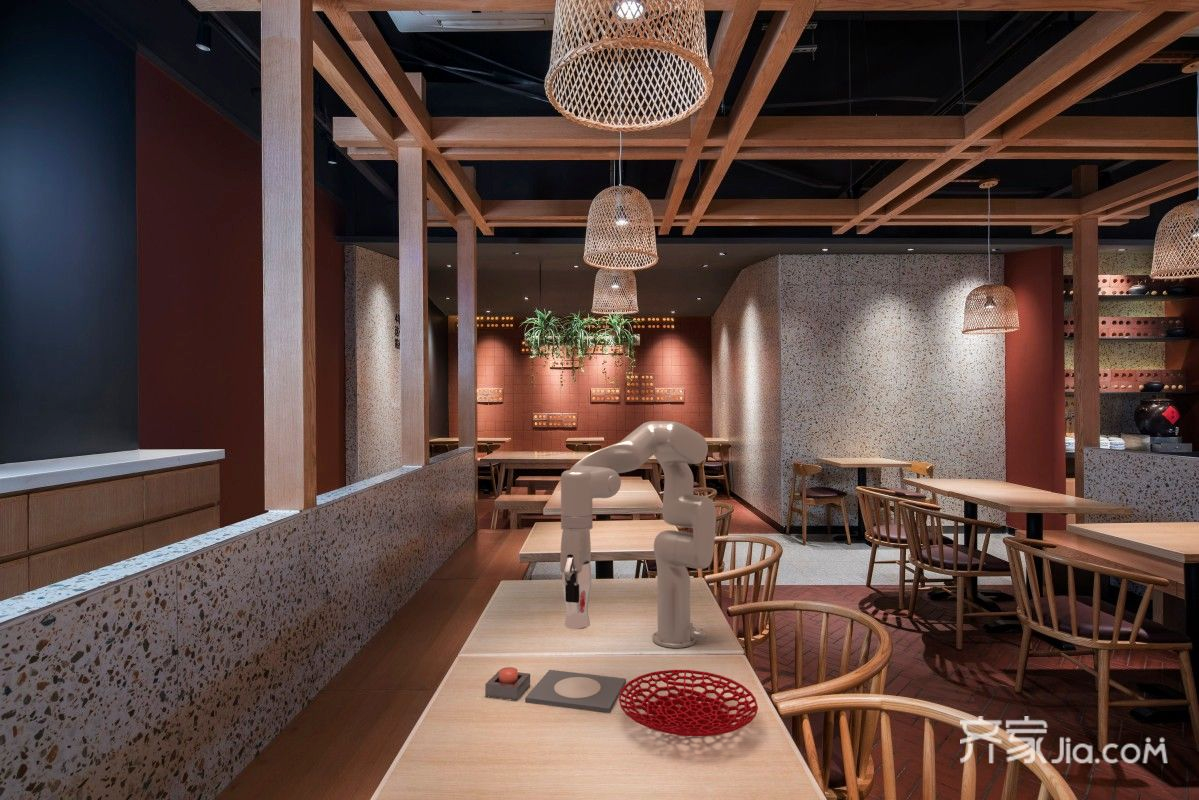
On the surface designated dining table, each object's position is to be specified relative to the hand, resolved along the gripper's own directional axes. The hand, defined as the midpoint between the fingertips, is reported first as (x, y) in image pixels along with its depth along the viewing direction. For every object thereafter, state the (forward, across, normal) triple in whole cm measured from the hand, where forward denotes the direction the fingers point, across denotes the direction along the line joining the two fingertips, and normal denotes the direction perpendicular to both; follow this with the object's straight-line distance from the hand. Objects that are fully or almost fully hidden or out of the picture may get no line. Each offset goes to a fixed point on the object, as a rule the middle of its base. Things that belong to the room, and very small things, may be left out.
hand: (577, 596), depth 148 cm
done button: (+21, +4, -16) cm, 26 cm away
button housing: (+22, +4, -16) cm, 28 cm away
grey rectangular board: (+22, 0, 0) cm, 22 cm away
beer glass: (+7, 0, 0) cm, 7 cm away
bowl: (+23, +7, +27) cm, 36 cm away
